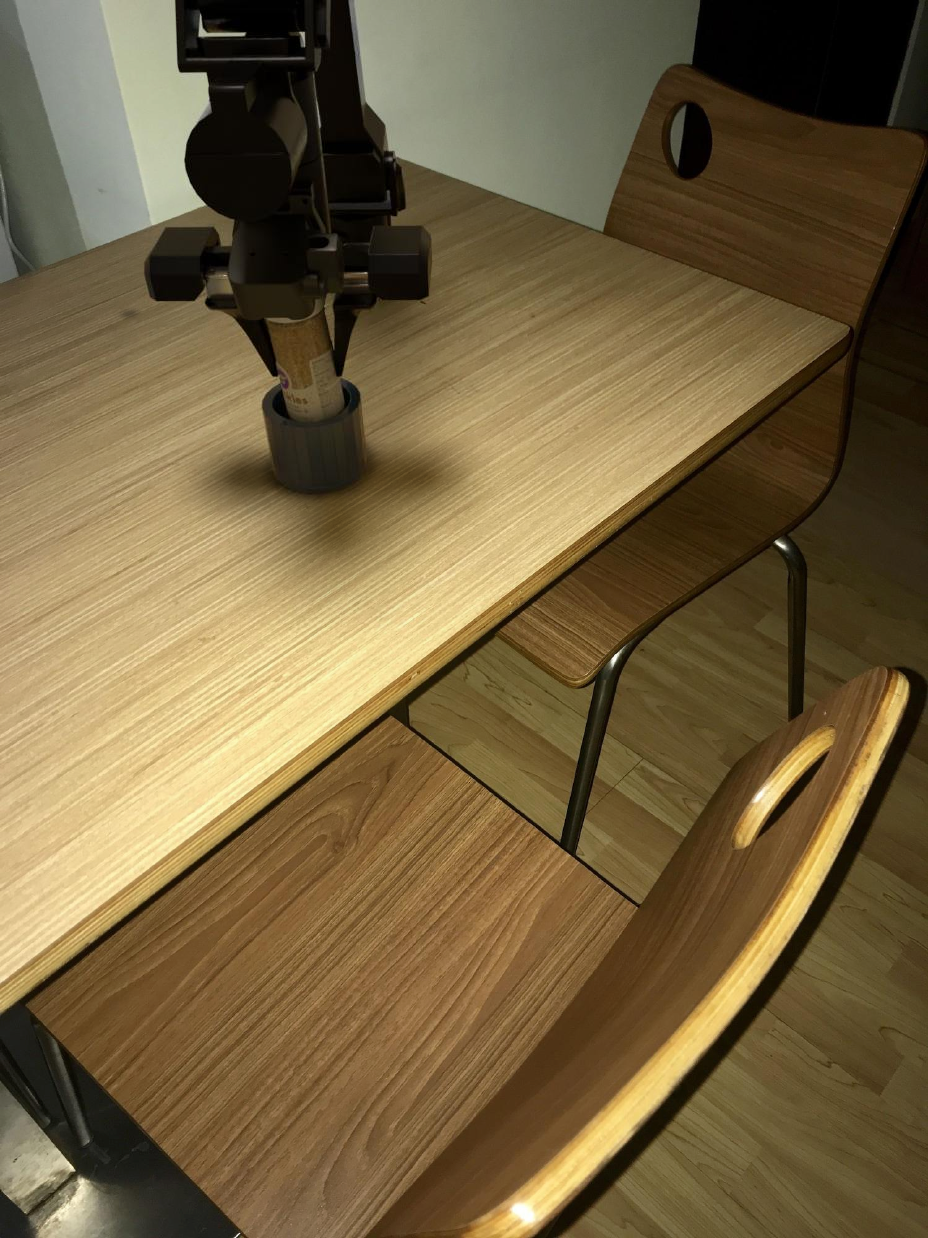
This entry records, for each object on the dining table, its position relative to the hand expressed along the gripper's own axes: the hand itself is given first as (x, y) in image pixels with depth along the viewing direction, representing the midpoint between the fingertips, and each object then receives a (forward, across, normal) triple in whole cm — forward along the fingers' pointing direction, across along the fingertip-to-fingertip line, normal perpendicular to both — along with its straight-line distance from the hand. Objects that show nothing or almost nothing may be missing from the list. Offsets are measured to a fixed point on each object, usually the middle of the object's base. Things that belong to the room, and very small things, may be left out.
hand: (307, 374), depth 73 cm
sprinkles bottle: (+6, +1, 0) cm, 6 cm away
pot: (+8, 0, 0) cm, 8 cm away
